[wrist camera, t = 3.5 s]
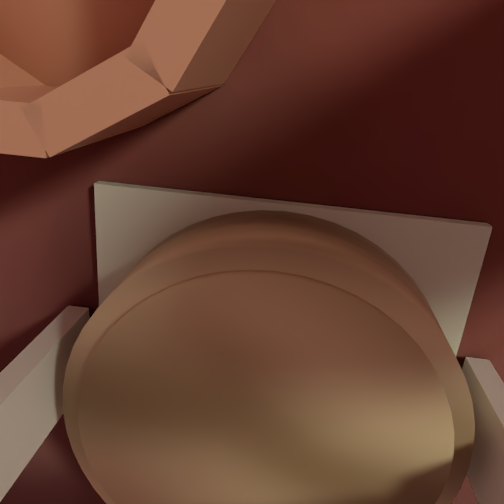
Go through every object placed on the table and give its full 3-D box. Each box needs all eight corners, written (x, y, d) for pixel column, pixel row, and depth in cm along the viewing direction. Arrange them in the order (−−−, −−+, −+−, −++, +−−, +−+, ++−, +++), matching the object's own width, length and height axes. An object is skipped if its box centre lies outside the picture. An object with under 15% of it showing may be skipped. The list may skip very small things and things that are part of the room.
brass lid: (405, 517, 18) (426, 616, 15) (111, 473, 19) (70, 556, 16) (483, 231, 14) (536, 281, 11) (99, 191, 15) (39, 225, 11)
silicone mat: (407, 514, 18) (408, 523, 18) (110, 467, 19) (106, 476, 19) (487, 223, 14) (492, 227, 14) (99, 180, 15) (93, 183, 15)
